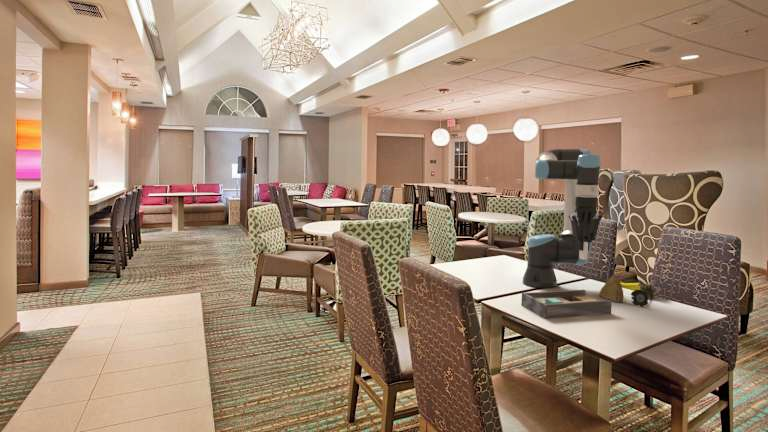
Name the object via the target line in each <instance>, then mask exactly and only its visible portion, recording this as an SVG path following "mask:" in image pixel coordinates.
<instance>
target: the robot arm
mask: <svg viewBox="0 0 768 432" xmlns="http://www.w3.org/2000/svg"><path fill="white" fill-rule="evenodd" d="M534 168H535V169H534V170H535V171H534V178H536V179H539V180H563V181H564V204H563V205H564V211H563V231H562V232H560V234H559V238H557V237H556V235H555V234H552V233H551V234H549V233H547V234H545V233H544V234H535V235H532V236H530V237H529V238H528V245H527V248H528V251H527V266H526V270H525V272H524V274H523V277H522V283H523V284H524V285H525V286H529V287H532V288H539V289H540V288H542V289H550V288H555V287H557V285H558V280H557V277H556V273H555V269H554V265H555V264H561V265H562V264H563V265H574V266H578V265H583V266H584V265H585V264H587V263H588V262H589V261H588V260H589V257H590V253H591V247H592V242H593V241H595V240H596V237H597V234H598V233H597V232H598V229H599V226H600V222H601V220H602V219H603V215H602V214H600V213H598V210H597V207H598V203H599V202H598V201H599V198H598V197H597V196H599V186H600V183H599V182H600V169H601V156H600V155H599V154H592V153H591V151H590V150H589V149H587V148H586V149H585V148H584V149H582V148H553V149H549V150H546V151H544V152H541V153H540V154H538V156H537V158H536V159H535V166H534Z"/></svg>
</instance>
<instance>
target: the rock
mask: <svg viewBox="0 0 768 432" xmlns="http://www.w3.org/2000/svg"><path fill="white" fill-rule="evenodd" d="M598 295H599V296H598V297H601V298H603V299H605V298H606V299H605V300H609V299H610V300H611V301H612V300H613V301H614V302H617V303H624V298H625V296H624V290H623V286H622V283H621V281H620V278H619V277H618V276H616V275H615V274H612V275H611V276H610V277H609V278H608V279H607V280H606V282H605V284H604V285H603V286H602V288H601V289H600V291H599V293H598ZM613 301H612V302H613Z"/></svg>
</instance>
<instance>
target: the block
mask: <svg viewBox="0 0 768 432" xmlns="http://www.w3.org/2000/svg"><path fill="white" fill-rule="evenodd" d="M555 303H563V302H562V301H560V300H558V299H556V298H546V299H545V304H555Z"/></svg>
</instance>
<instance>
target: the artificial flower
mask: <svg viewBox="0 0 768 432" xmlns="http://www.w3.org/2000/svg"><path fill="white" fill-rule="evenodd" d="M637 286H638V287H639V289H635V290H633V291H632V292H631V293H630V295H631V302H632V304H633V305H634V306H638V305H640V306H639V307H643V306H648V304H649V301H653V300H654V297H655V294H657V293H659V292H660V291H662V290H663V289H662V288H661V287H658V288H654V289H653V287H654V283H653V279H650V282H649V283H647V282H645V284H644V286H643V284H641V283H638V284H637Z"/></svg>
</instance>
